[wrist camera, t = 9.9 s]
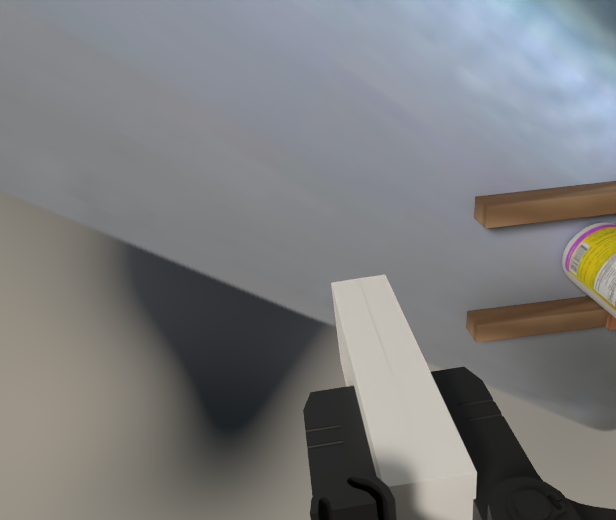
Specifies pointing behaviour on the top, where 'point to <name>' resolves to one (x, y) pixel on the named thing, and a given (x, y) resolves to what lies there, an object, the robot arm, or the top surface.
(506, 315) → the wooden frame
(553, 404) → the top surface
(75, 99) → the top surface
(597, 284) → the supplement bottle
